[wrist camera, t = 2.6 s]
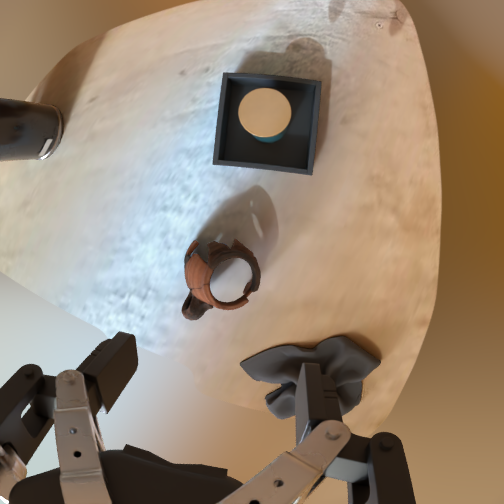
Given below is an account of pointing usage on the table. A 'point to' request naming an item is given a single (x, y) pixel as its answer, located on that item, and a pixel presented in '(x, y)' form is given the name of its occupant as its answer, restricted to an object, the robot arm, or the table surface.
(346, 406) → the cloth
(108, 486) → the robot arm
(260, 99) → the spice jar
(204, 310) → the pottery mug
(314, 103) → the bin
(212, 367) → the table surface
